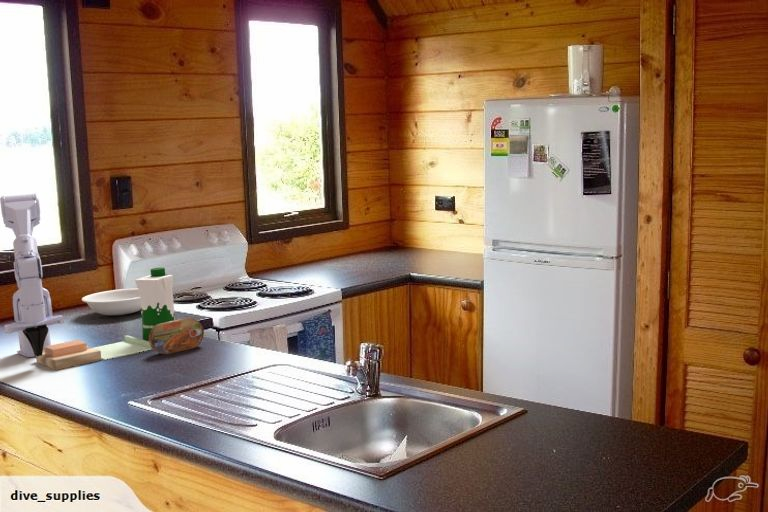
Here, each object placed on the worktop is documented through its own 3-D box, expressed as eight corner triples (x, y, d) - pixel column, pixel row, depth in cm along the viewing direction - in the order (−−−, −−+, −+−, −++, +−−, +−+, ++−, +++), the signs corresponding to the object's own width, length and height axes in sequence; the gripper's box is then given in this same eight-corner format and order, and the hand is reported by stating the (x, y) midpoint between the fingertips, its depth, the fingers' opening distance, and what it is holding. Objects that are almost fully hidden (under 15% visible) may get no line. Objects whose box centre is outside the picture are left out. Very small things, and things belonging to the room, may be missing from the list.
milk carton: (181, 335, 264) (175, 267, 262) (163, 342, 256) (156, 272, 253) (156, 334, 268) (150, 267, 265) (137, 341, 259) (130, 272, 257)
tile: (45, 354, 240) (44, 346, 240) (78, 347, 246) (77, 339, 246) (53, 357, 236) (52, 349, 236) (87, 350, 242) (86, 342, 241)
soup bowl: (173, 308, 307) (171, 289, 306) (118, 324, 287) (116, 303, 286) (124, 305, 320) (122, 286, 319) (68, 319, 300) (65, 299, 299)
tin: (153, 357, 240) (150, 326, 239) (148, 355, 243) (145, 324, 241) (205, 346, 249) (202, 316, 248) (200, 344, 251) (197, 314, 250)
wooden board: (36, 361, 243) (35, 352, 243) (80, 352, 251) (79, 343, 250) (56, 370, 232) (55, 360, 232) (101, 360, 240) (100, 350, 240)
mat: (80, 351, 252) (79, 345, 252) (127, 341, 261) (127, 335, 261) (105, 360, 240) (104, 353, 239) (153, 349, 249) (153, 342, 248)
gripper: (8, 310, 227) (15, 363, 229) (65, 300, 236) (71, 351, 238) (-1, 307, 232) (5, 359, 234) (55, 297, 241) (61, 347, 243)
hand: (38, 355), depth 236 cm, fingers closed
